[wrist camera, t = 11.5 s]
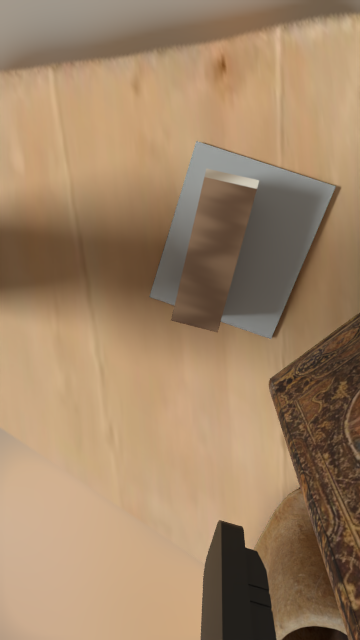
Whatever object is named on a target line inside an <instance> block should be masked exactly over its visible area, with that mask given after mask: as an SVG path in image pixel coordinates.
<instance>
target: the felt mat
mask: <svg viewBox="0 0 360 640" xmlns="http://www.w3.org/2000/svg"><path fill="white" fill-rule="evenodd" d="M206 168H207V169H211V170H216V171H220V172H224V173H229V174H233V175H238V176H242V177H247V178H251V179H256V180H259V183H258V187H257V191H256V194H255V198H254V202H253V205H252V209H251V213H250V216H249V220H248V224H247V227H246V231H245V234H244V238H243V242H242V245H241V249H240V253H239V256H238V260H237V264H236V267H235V271H234V275H233V278H232V282H231V286H230V289H229V293H228V296H227V300H226V304H225V307H224V311H223V315H222V318H221V322H223V323H226V324H229V325H232V326H235V327H238V328H241V329H243V330H246V331H249V332H252V333H255V334H258V335H261V336H264V337H267V338H269V339H271V338H272V335H273V333H274V331H275V328H276V326H277V324H278V321H279V319H280V317H281V314H282V312H283V309H284V307H285V305H286V302H287V300H288V298H289V295H290V293H291V291H292V288H293V286H294V284H295V281H296V279H297V277H298V274H299V272H300V269H301V267H302V265H303V262H304V260H305V258H306V255H307V253H308V251H309V248H310V246H311V244H312V241H313V239H314V237H315V234H316V232H317V229H318V227H319V225H320V222H321V220H322V218H323V215H324V213H325V211H326V208H327V206H328V204H329V201H330V199H331V197H332V194H333V192H334V189H335V187H336V186H333V185H330V184H327V183H324V182H321V181H318V180H315V179H312V178H309V177H306V176H303V175H299V174H296V173H293V172H290V171H287V170H284V169H281V168H278V167H275V166H272V165H269V164H266V163H262V162H259V161H256V160H253V159H250V158H247V157H244V156H241V155H238V154H235V153H232V152H229V151H225V150H222V149H219V148H216V147H213V146H210V145H207V144H204V143H201V142H198V141H196V144H195V148H194V151H193V154H192V158H191V161H190V164H189V168H188V171H187V174H186V177H185V181H184V184H183V187H182V191H181V194H180V197H179V201H178V204H177V207H176V211H175V214H174V217H173V220H172V224H171V227H170V230H169V234H168V237H167V240H166V244H165V247H164V250H163V254H162V257H161V260H160V264H159V267H158V270H157V273H156V277H155V280H154V283H153V287H152V290H151V293H150V297H151V298H154V299H157V300H160V301H163V302H166V303H168V304H171V305H174V306H175V302H176V297H177V293H178V289H179V284H180V280H181V276H182V271H183V267H184V263H185V258H186V254H187V250H188V245H189V241H190V237H191V232H192V228H193V224H194V220H195V215H196V211H197V207H198V202H199V198H200V194H201V189H202V185H203V181H204V176H205V172H206Z"/></svg>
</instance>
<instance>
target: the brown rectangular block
mask: <svg viewBox="0 0 360 640" xmlns="http://www.w3.org/2000/svg"><path fill="white" fill-rule="evenodd" d="M258 183H259V180H256V179H251V178H247V177H242V176H238V175H233V174H229V173H224V172H220V171H216V170H211V169H207V168H206V172H205V176H204V181H203V185H202V189H201V194H200V198H199V202H198V207H197V211H196V215H195V220H194V224H193V228H192V232H191V237H190V241H189V245H188V250H187V254H186V258H185V263H184V267H183V271H182V276H181V280H180V284H179V289H178V293H177V297H176V302H175V306H174V310H173V315H172V319H171V320H172V321H176V322H179V323H183V324H187V325H191V326H195V327H199V328H203V329H207V330H210V331H214V332H218V329H219V326H220V322H221V318H222V315H223V311H224V307H225V304H226V300H227V296H228V293H229V289H230V286H231V282H232V278H233V275H234V271H235V267H236V264H237V260H238V256H239V253H240V249H241V245H242V242H243V238H244V234H245V231H246V227H247V224H248V220H249V216H250V213H251V209H252V205H253V202H254V198H255V194H256V191H257V187H258Z"/></svg>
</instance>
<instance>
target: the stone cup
mask: <svg viewBox="0 0 360 640" xmlns="http://www.w3.org/2000/svg"><path fill="white" fill-rule="evenodd" d="M254 550H255V551H257V552H258V554H259V556H260V558H261V560H262V562H263V564H264V566H265V568H266V571H267V577H268V584H269V594H270V598H271V605H272V609H271V610H272V611H273V618H274V625H275V632H276V639H277V640H349V639H348V636H347V633H346V630H345V627H344V623H343V620H342V617H341V614H340V611H339V608H338V604H337V601H336V598H335V595H334V592H333V589H332V585H331V582H330V579H329V576H328V573H327V570H326V567H325V563H324V560H323V557H322V554H321V551H320V548H319V544H318V541H317V538H316V535H315V532H314V529H313V526H312V522H311V519H310V516H309V513H308V510H307V507H306V503H305V500H304V497H303V494H302V491H301V489H298V490H296V491H293V492H292V493H290V494H289V495H288V496H287V497H286V498H285V499H284V500H283V502H282V503H281V504H280V505H279V507H278V508H277V509H276V510H275V512H274V513H273V515H272V517H271V518H270V520H269V522H268V524H267V526H266V527H265V529H264V531H263V533H262V534H261V536H260V538H259V540H258V542H257V544H256V546H255V548H254Z"/></svg>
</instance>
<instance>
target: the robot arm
mask: <svg viewBox="0 0 360 640" xmlns="http://www.w3.org/2000/svg"><path fill="white" fill-rule="evenodd" d="M271 609H272V605H271V598H270V594H269V584H268V577H267V571H266V568H265V566H264V564H263V562H262V560H261V558H260V556H259V554H258V552H257V551H255V550H251V549H248V548H245V540H244V530H243V527H242V526H238V525H235V524H231V523H228V522H224V521H220V520H219V521H218V524H217V527H216V530H215V533H214V536H213V539H212V542H211V545H210V548H209V551H208V555H207V558H206V563H205V569H204V578H203V598H202V622H201V640H277V639H276V632H275V625H274V618H273V611H272V610H271Z"/></svg>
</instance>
